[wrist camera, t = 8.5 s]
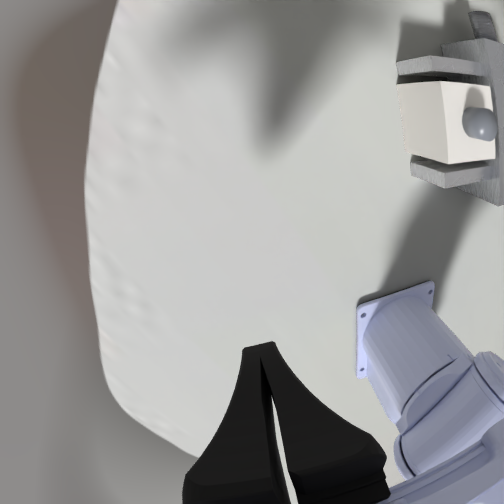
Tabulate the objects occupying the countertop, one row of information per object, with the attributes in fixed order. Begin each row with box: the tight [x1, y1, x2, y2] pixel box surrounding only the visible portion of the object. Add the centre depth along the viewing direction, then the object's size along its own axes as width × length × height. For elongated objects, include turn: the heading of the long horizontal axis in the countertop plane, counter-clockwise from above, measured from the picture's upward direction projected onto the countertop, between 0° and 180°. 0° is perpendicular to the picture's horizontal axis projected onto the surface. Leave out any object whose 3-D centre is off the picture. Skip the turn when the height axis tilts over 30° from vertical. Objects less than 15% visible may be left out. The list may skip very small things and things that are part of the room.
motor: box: [396, 11, 504, 206], centre depth 15 cm, size 15×12×5 cm
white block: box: [396, 81, 498, 164], centre depth 15 cm, size 5×5×6 cm
